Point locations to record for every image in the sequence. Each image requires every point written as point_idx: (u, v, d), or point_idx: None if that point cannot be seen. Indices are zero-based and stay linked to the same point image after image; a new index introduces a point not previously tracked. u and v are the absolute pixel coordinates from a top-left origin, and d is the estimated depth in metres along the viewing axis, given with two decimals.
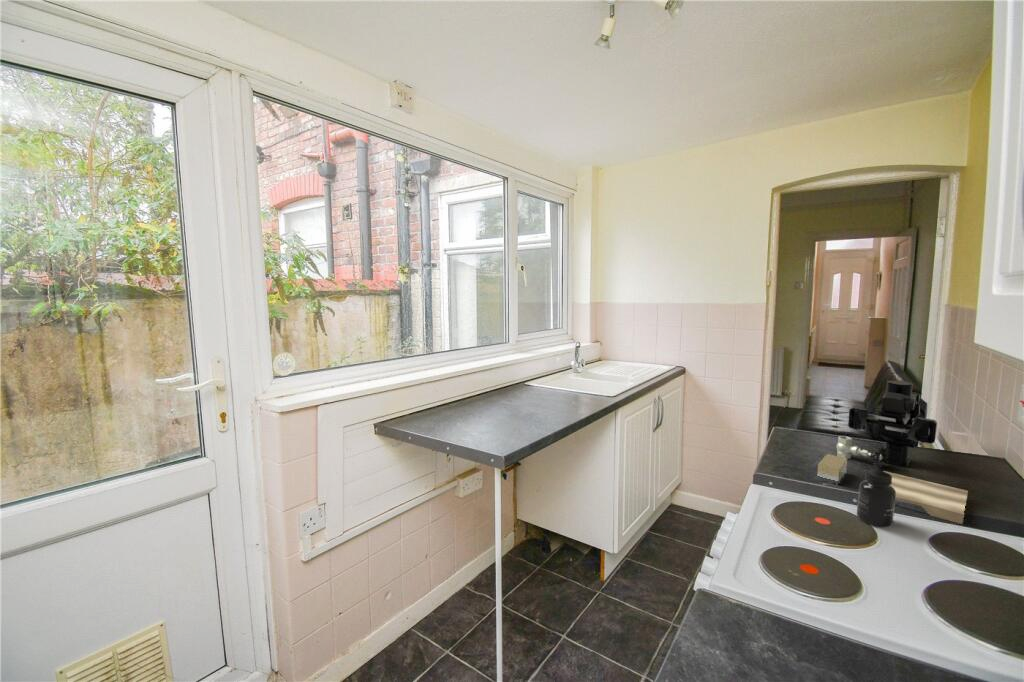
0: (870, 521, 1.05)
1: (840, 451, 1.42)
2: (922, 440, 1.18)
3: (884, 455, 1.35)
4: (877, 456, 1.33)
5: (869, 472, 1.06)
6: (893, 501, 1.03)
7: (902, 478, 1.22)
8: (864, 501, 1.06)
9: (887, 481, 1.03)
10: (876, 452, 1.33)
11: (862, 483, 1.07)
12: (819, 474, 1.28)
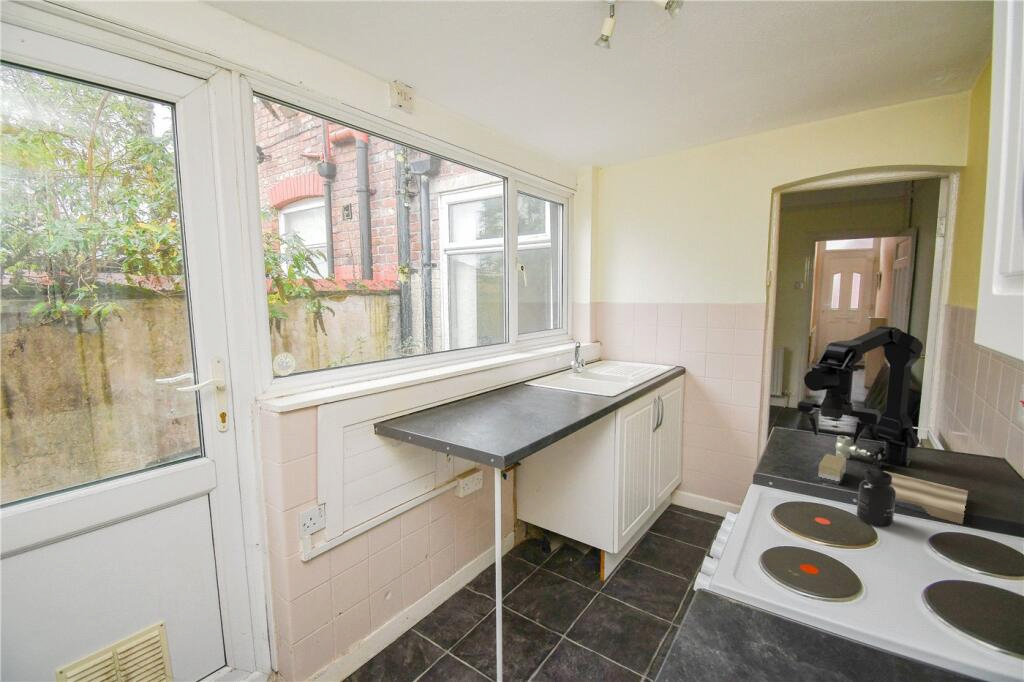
0: (870, 521, 1.05)
1: (839, 451, 1.42)
2: None
3: (883, 455, 1.35)
4: (876, 456, 1.34)
5: (869, 472, 1.06)
6: (893, 501, 1.03)
7: (902, 478, 1.22)
8: (864, 501, 1.06)
9: (887, 481, 1.03)
10: (875, 452, 1.33)
11: (862, 483, 1.07)
12: (820, 474, 1.28)
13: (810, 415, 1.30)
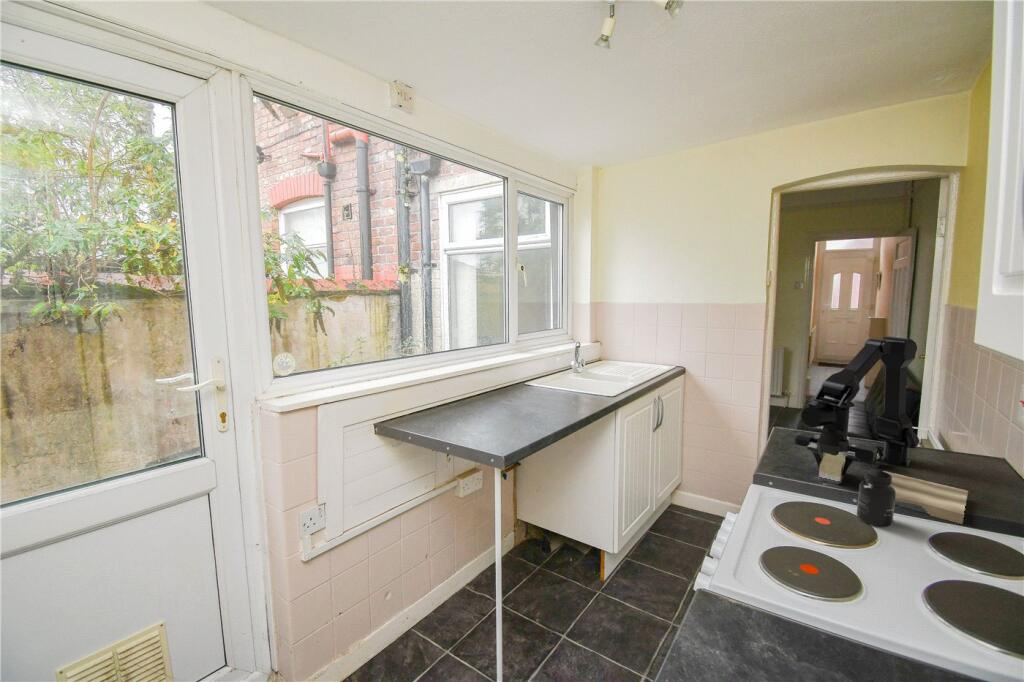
0: (870, 521, 1.05)
1: None
2: None
3: (881, 454, 1.36)
4: None
5: (869, 472, 1.06)
6: (893, 501, 1.03)
7: (902, 478, 1.22)
8: (864, 501, 1.06)
9: (887, 481, 1.03)
10: None
11: (862, 483, 1.07)
12: (821, 474, 1.27)
13: (814, 451, 1.30)
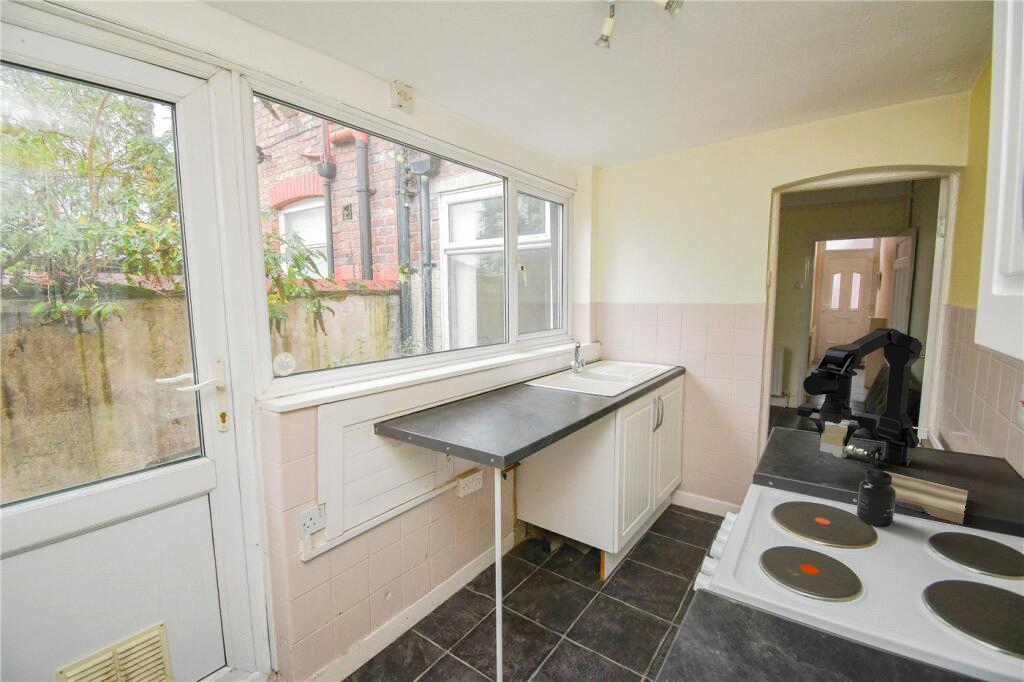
0: (870, 521, 1.05)
1: None
2: None
3: (880, 454, 1.36)
4: (873, 455, 1.34)
5: (869, 472, 1.06)
6: (893, 501, 1.03)
7: (902, 478, 1.22)
8: (864, 501, 1.06)
9: (888, 481, 1.03)
10: (872, 451, 1.34)
11: (862, 483, 1.07)
12: (822, 444, 1.26)
13: (817, 421, 1.29)
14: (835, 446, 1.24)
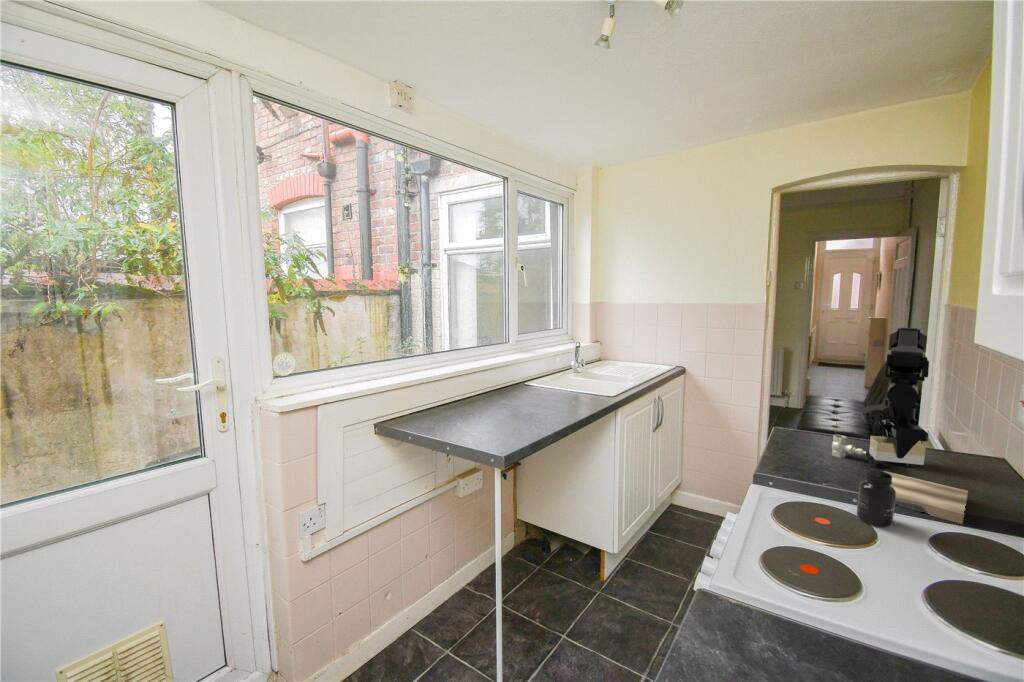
0: (870, 521, 1.05)
1: (835, 450, 1.43)
2: None
3: None
4: None
5: (869, 472, 1.06)
6: (893, 501, 1.03)
7: (902, 478, 1.22)
8: (864, 501, 1.06)
9: (887, 481, 1.03)
10: None
11: (862, 483, 1.07)
12: (870, 446, 1.22)
13: (881, 425, 1.22)
14: (874, 450, 1.19)
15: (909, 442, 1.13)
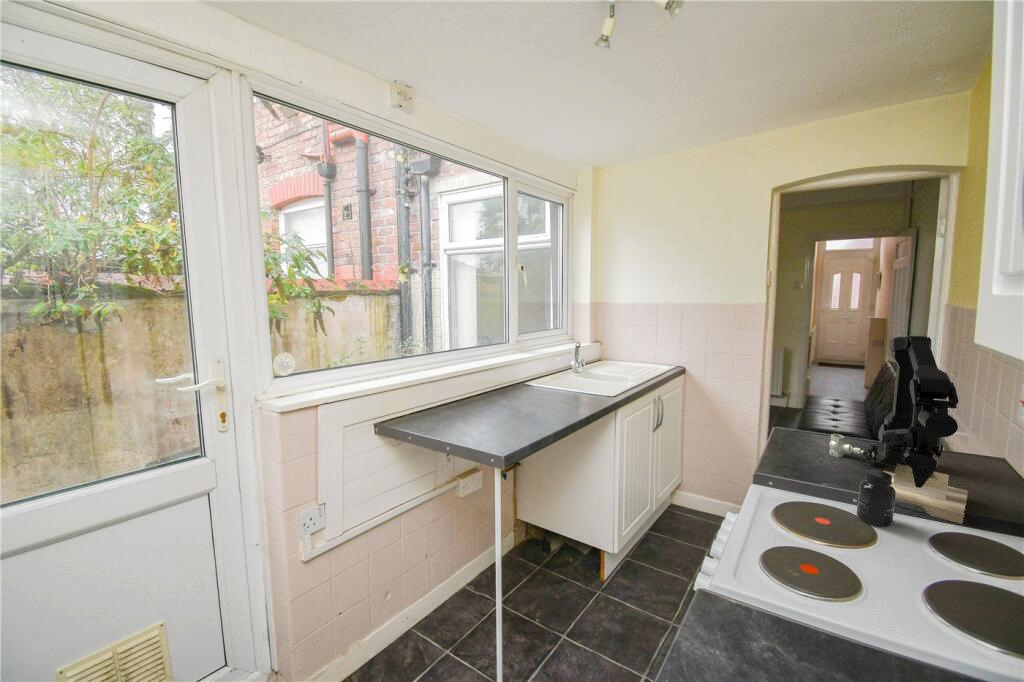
0: (870, 521, 1.05)
1: (833, 449, 1.44)
2: (932, 469, 1.08)
3: (876, 452, 1.37)
4: (870, 453, 1.35)
5: (869, 472, 1.06)
6: (893, 501, 1.03)
7: None
8: (864, 501, 1.06)
9: (887, 481, 1.03)
10: (869, 449, 1.35)
11: (862, 483, 1.07)
12: None
13: None
14: None
15: (925, 471, 1.10)
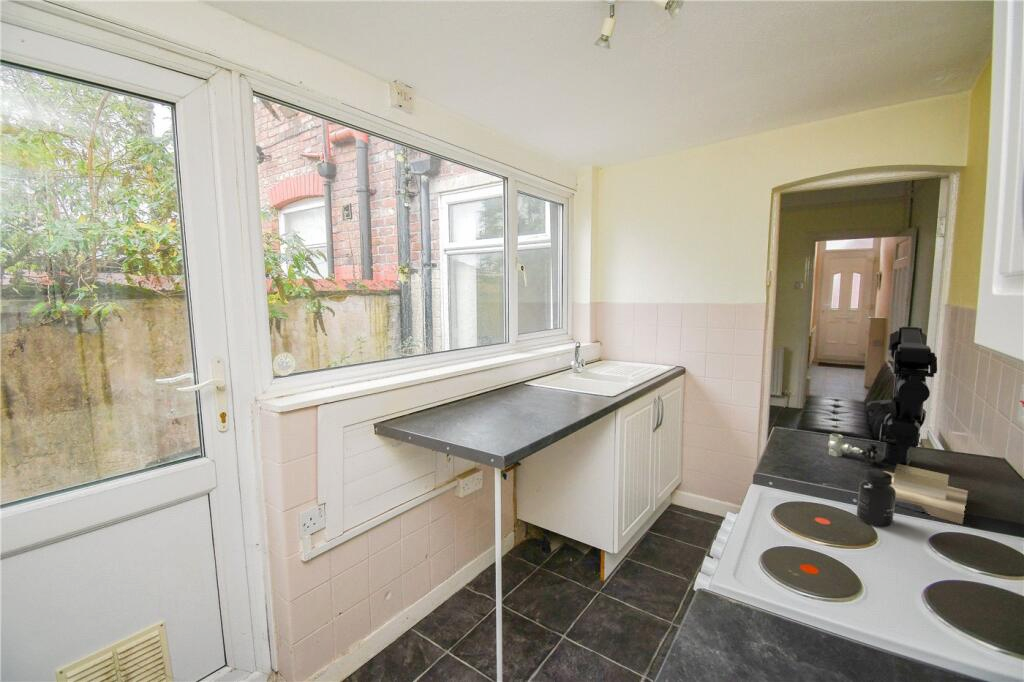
0: (870, 521, 1.05)
1: (832, 449, 1.44)
2: None
3: (875, 452, 1.38)
4: (869, 453, 1.35)
5: (869, 472, 1.06)
6: (893, 501, 1.03)
7: None
8: (864, 501, 1.06)
9: (887, 481, 1.03)
10: (868, 449, 1.35)
11: (862, 483, 1.07)
12: None
13: None
14: None
15: (908, 439, 1.13)
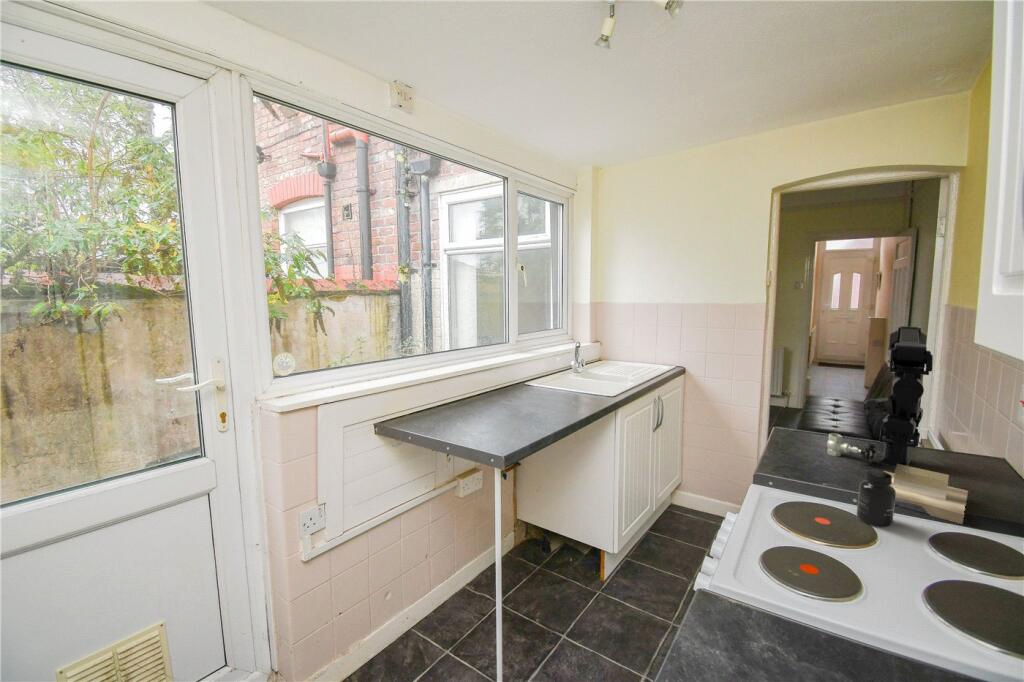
0: (870, 521, 1.05)
1: (831, 448, 1.44)
2: None
3: (873, 451, 1.38)
4: (867, 453, 1.36)
5: (869, 472, 1.06)
6: (893, 501, 1.03)
7: None
8: (864, 501, 1.06)
9: (887, 481, 1.03)
10: (867, 449, 1.36)
11: (862, 483, 1.07)
12: None
13: None
14: None
15: (903, 436, 1.14)
